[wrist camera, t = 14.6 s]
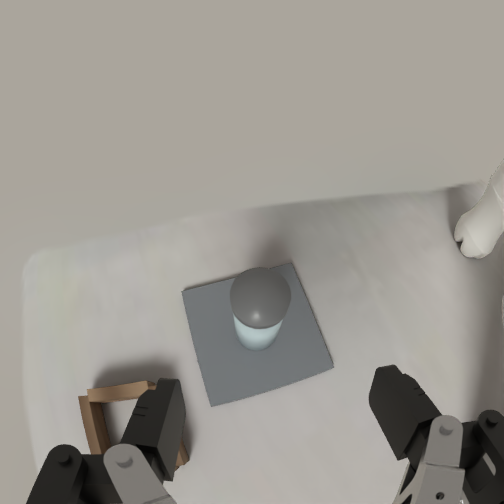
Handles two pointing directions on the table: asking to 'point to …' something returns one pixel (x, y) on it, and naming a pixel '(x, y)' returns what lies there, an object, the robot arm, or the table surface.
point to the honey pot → (503, 310)
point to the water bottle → (483, 220)
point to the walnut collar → (95, 417)
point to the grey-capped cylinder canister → (259, 306)
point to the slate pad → (245, 360)
